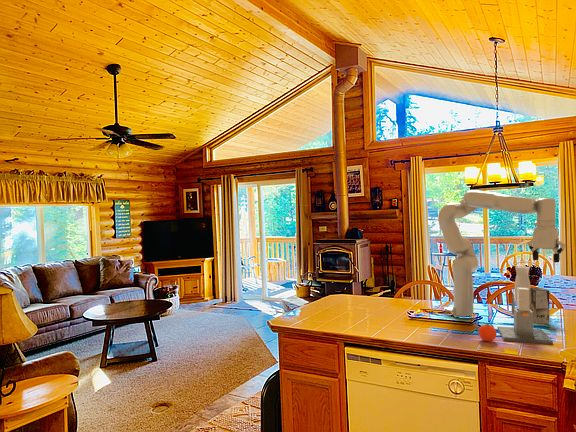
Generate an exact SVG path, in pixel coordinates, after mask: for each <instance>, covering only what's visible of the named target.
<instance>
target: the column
mask: <svg viewBox="0 0 576 432" xmlns="http://www.w3.org/2000/svg"><path fill="white" fill-rule="evenodd" d="M516 306H517V307H516V308H517V310H518V311H524V312H530V306H529V289H528V288H517V304H516Z"/></svg>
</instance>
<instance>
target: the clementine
mask: <svg viewBox="0 0 576 432" xmlns="http://www.w3.org/2000/svg"><path fill="white" fill-rule="evenodd" d="M478 335H479V337H480V338H481V339H482V340H483V341H485V342H489V343H490V342H493V341H495V339H496V338H497V335H498V334H497V330H496V328H495V327H494V326H493V325H492V324H489V323H485V324H483V325H481V326H480V327H479V328H478Z"/></svg>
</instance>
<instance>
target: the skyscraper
mask: <svg viewBox="0 0 576 432" xmlns="http://www.w3.org/2000/svg"><path fill="white" fill-rule="evenodd" d="M525 264H529V266H526V265H525ZM531 266H532V263H531V262H528V261H526V262H522V263H520V264H519V265H516V266H514V268H515V272H516V275H515V281H514V289H513V290H512V293H511V294H512V295H511V296H512V297H511V312H510V313H511V314H513V315H514V308H516V305H517V288H528V289H529V288H532V286H531V281H530V277H529V272H530V268H531Z"/></svg>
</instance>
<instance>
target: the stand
mask: <svg viewBox="0 0 576 432" xmlns="http://www.w3.org/2000/svg"><path fill="white" fill-rule="evenodd" d="M497 331H498V333H499V335H500V336H501V339H502V340H503V341H504V342H516V343H517V342H518V343H528V344H529V343H530V344H543V345H553V343H554V341H553V340H552V338H551V337H550V336H549V335H548V334H547V333H546V332H545V331H544V330H543V329H541V328H540V329H538V328H534V321H533V312H532V311H531V310H530V312H524V311H518V310H517V307H515V308H514V314H513V327H511V326H497Z"/></svg>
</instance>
